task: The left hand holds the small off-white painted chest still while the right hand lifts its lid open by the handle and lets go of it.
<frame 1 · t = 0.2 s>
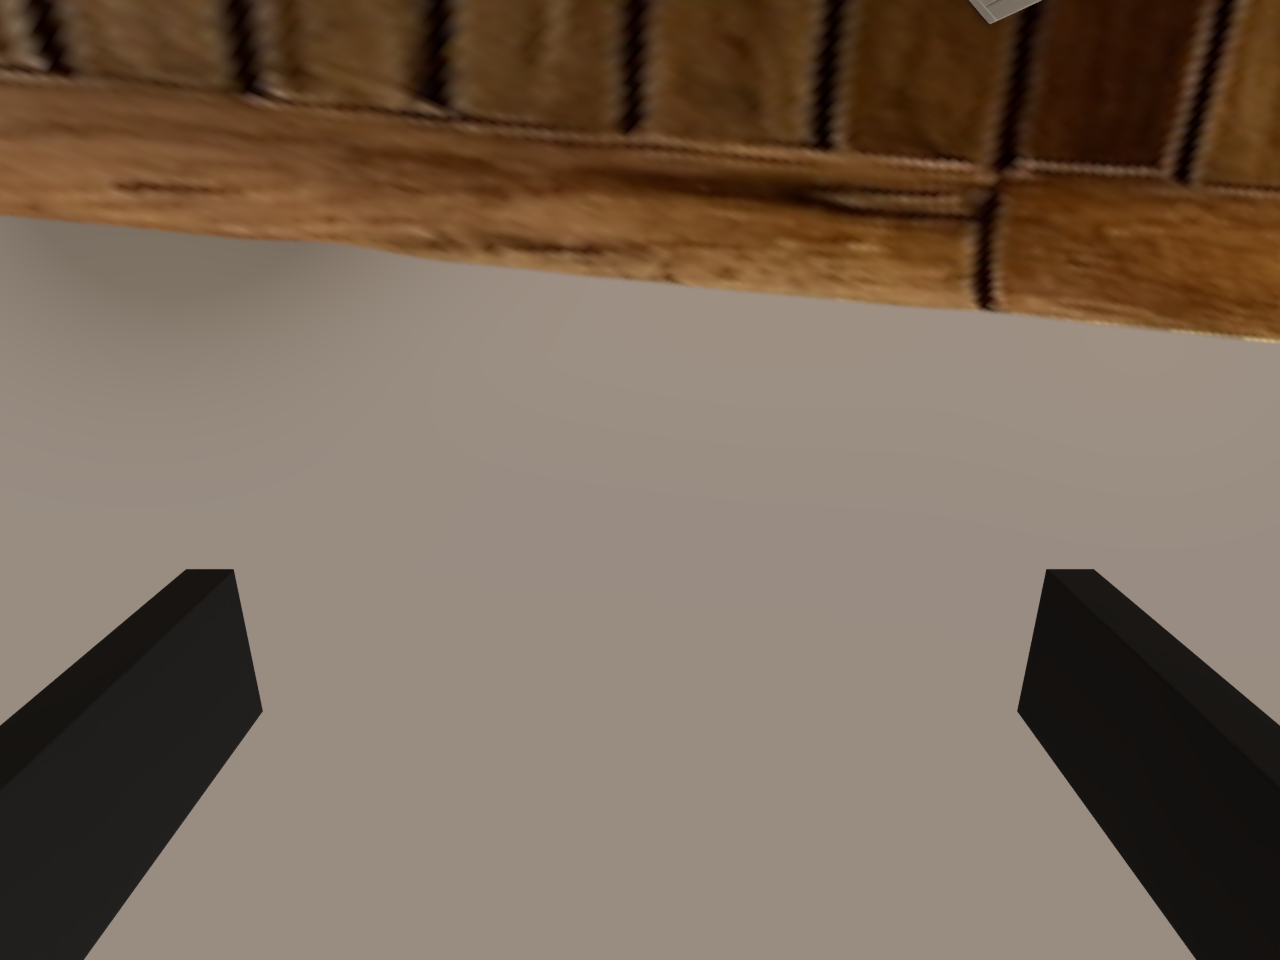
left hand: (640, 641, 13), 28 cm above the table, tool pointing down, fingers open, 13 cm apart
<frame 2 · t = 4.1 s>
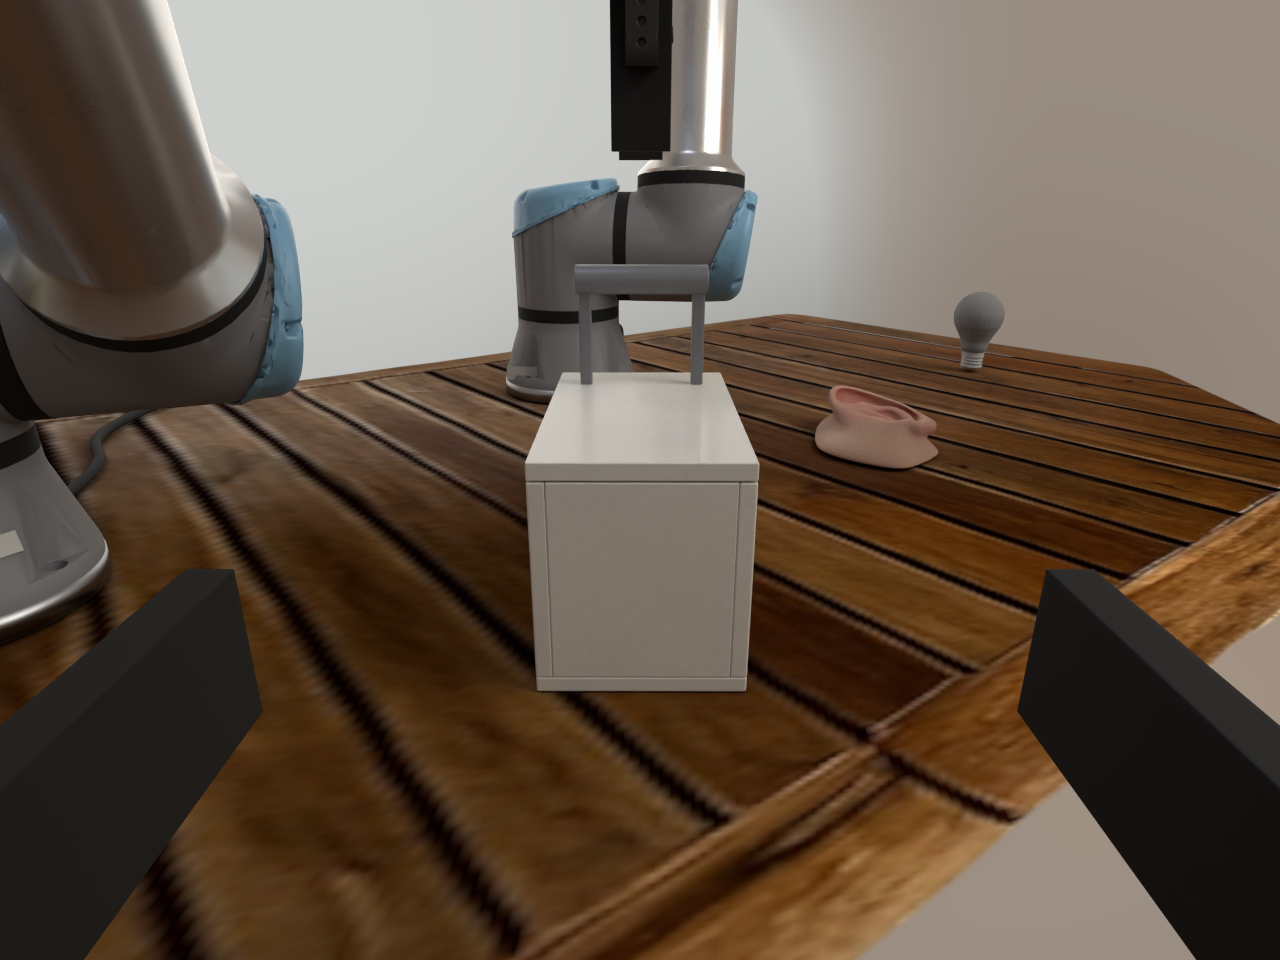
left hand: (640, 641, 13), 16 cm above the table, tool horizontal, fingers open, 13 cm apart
anatomical model: (873, 445, 73), on the table
chest: (641, 604, 45), on the table
light bulb: (970, 370, 103), on the table
lid: (641, 352, 40), point 15 cm above the table, hinge at 0.0°
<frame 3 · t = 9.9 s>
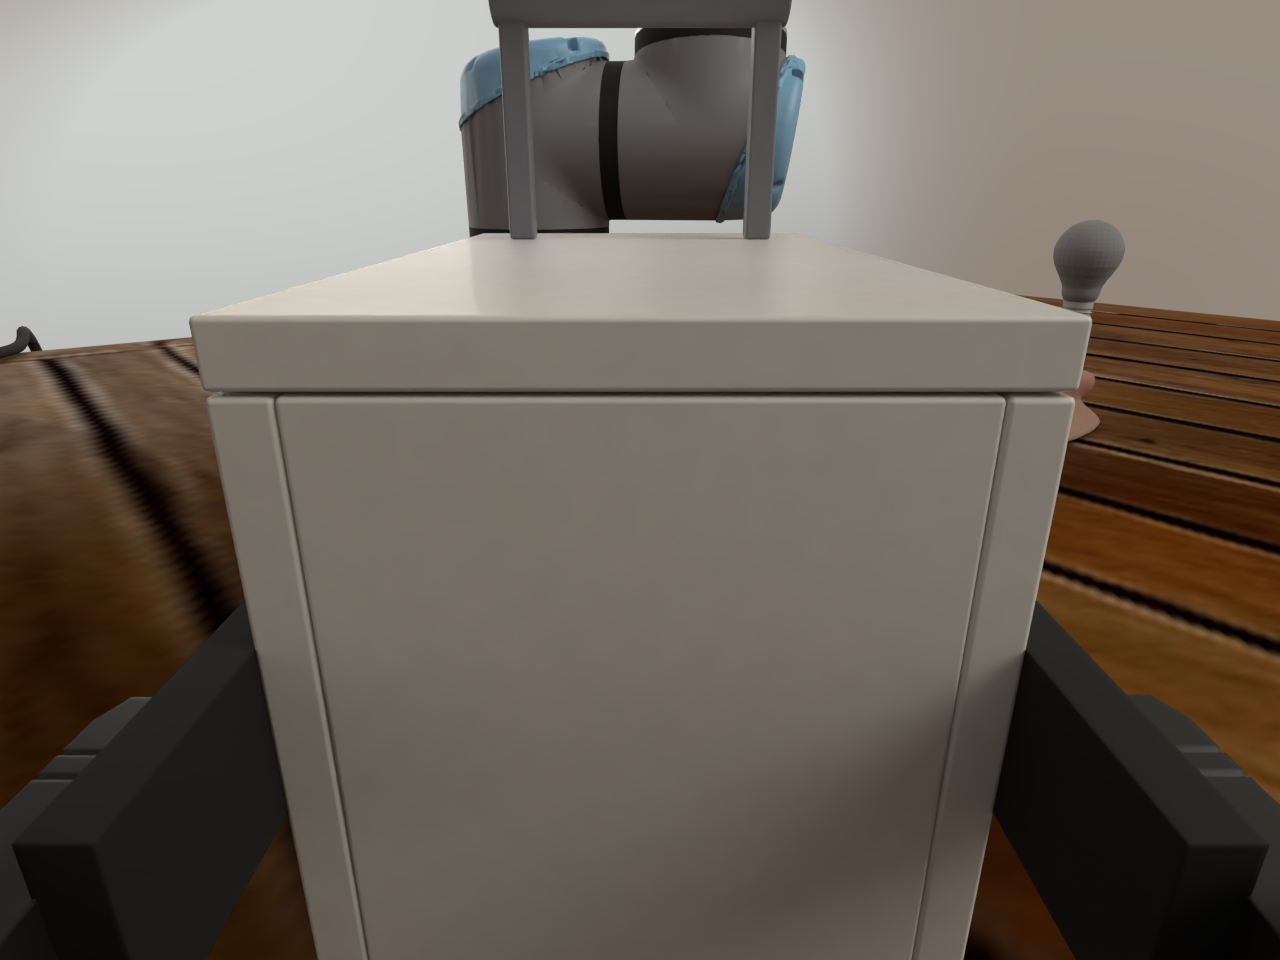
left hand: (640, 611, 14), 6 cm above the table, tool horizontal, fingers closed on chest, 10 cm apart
anatomical model: (991, 412, 48), on the table
chest: (640, 716, 21), on the table, touching left hand
light bulb: (1073, 327, 78), on the table
lid: (640, 99, 16), point 15 cm above the table, hinge at 0.0°
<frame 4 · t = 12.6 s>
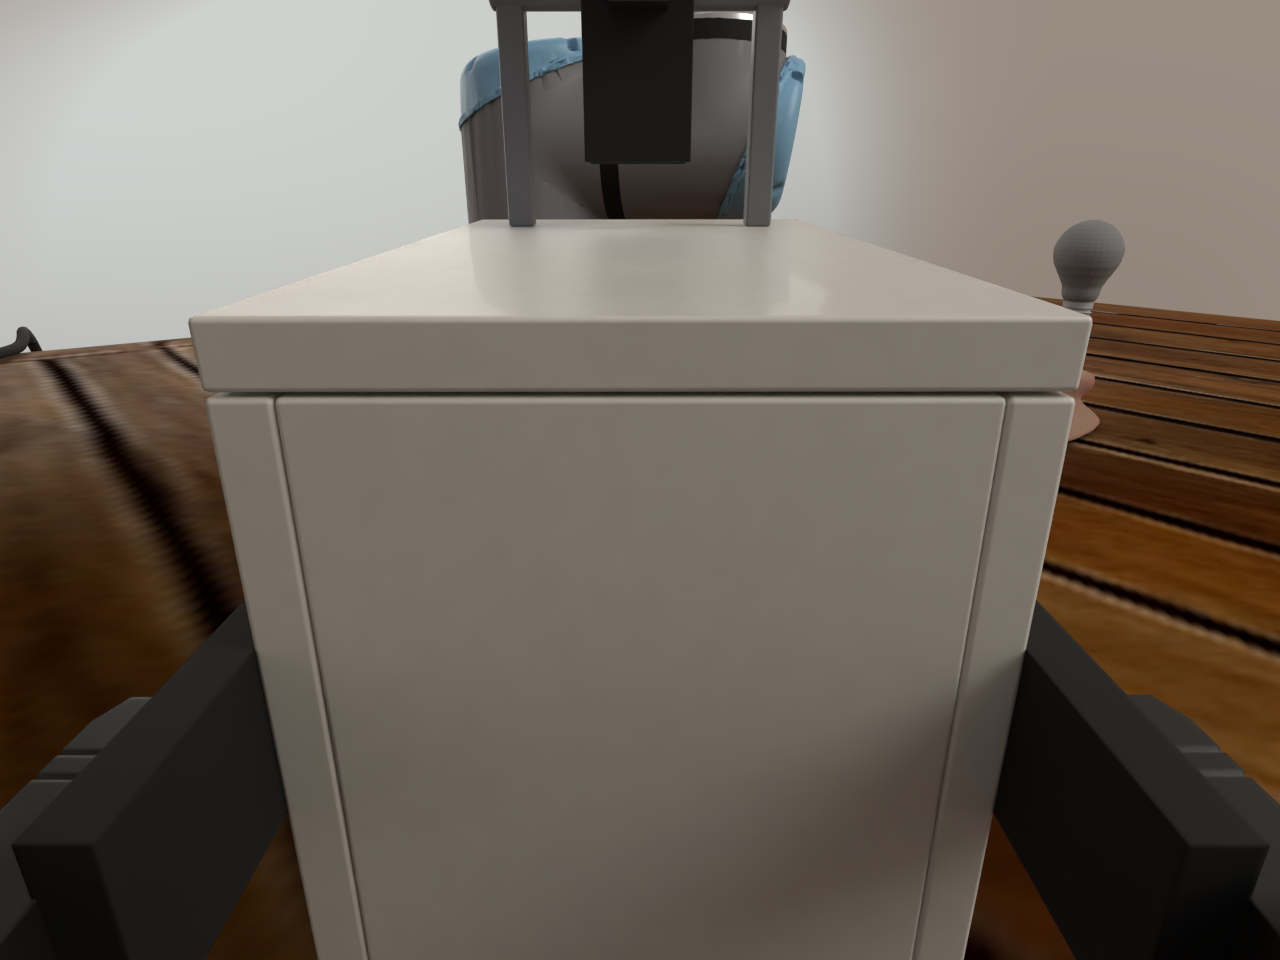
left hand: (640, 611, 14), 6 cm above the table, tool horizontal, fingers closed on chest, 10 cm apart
anatomical model: (991, 412, 48), on the table
chest: (640, 716, 21), on the table, touching left hand
light bulb: (1073, 327, 78), on the table
lid: (639, 86, 16), point 15 cm above the table, hinge at 1.4°, touching right hand
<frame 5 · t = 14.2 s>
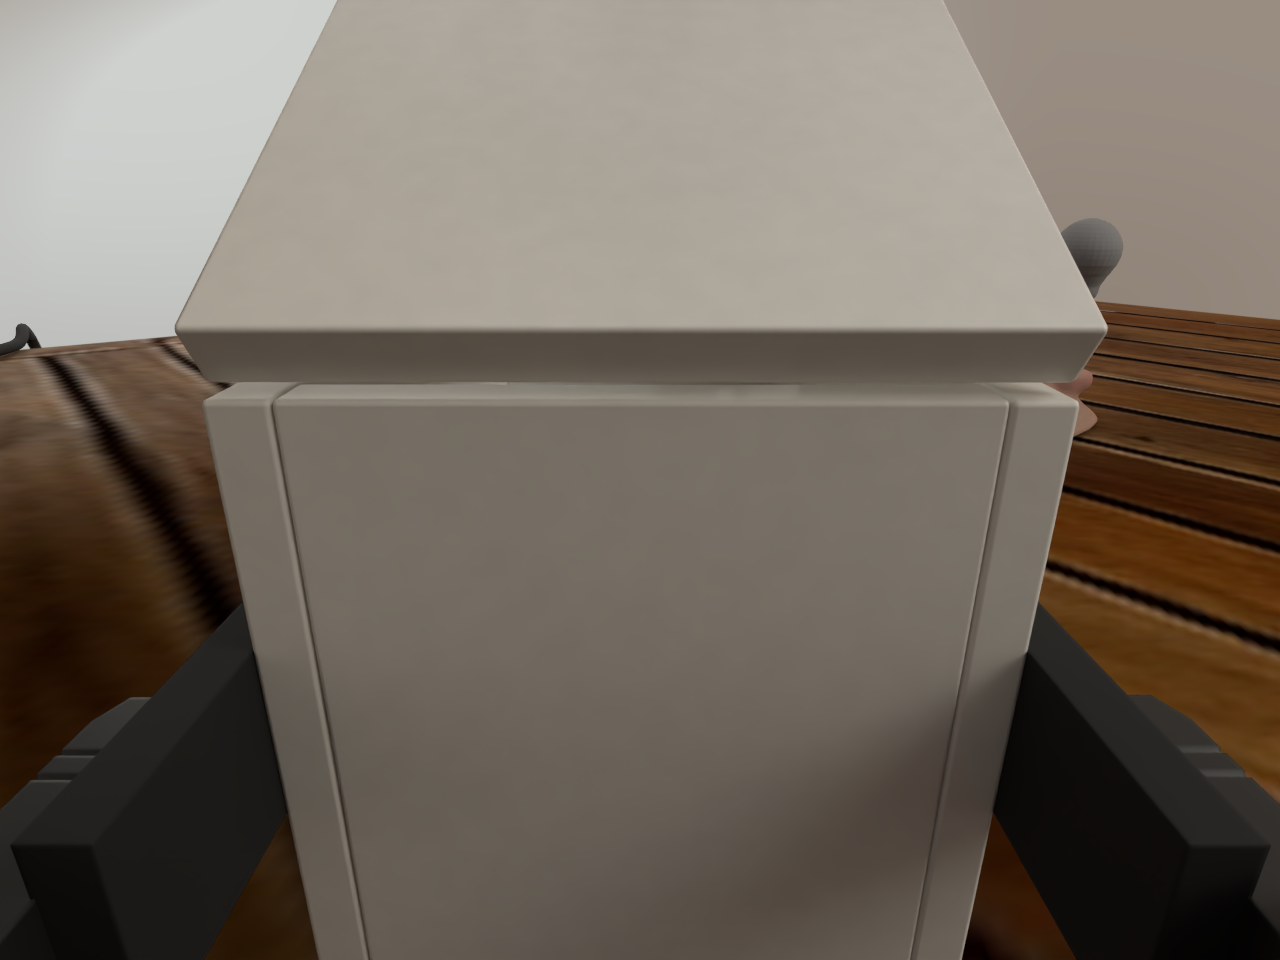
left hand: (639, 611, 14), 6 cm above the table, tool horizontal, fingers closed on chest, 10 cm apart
anatomical model: (989, 410, 48), on the table
chest: (639, 711, 21), on the table, touching left hand
light bulb: (1072, 325, 78), on the table
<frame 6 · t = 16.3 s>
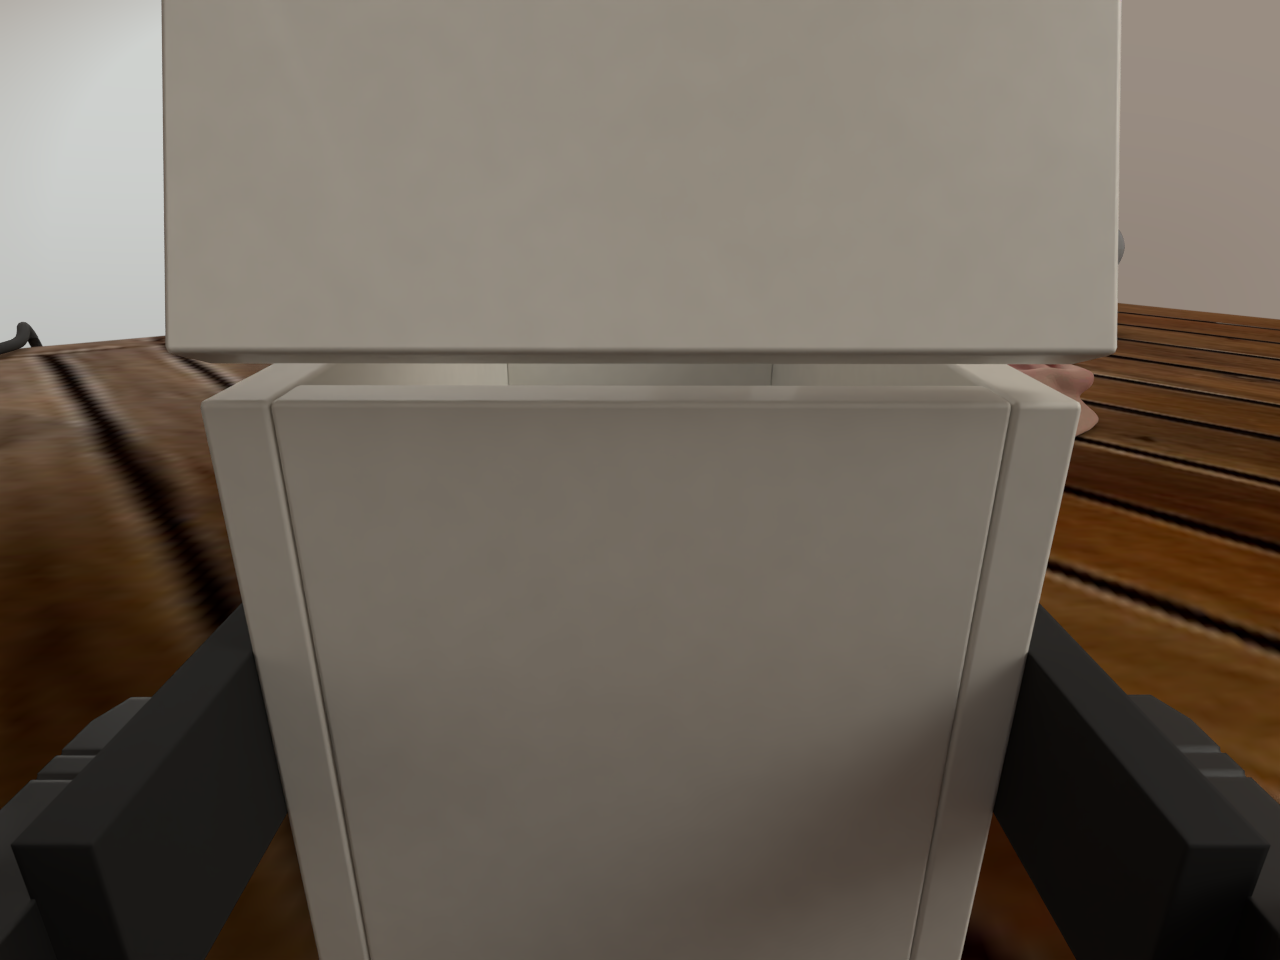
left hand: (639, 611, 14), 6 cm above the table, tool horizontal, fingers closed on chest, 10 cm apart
anatomical model: (990, 410, 48), on the table
chest: (639, 709, 21), on the table, touching left hand
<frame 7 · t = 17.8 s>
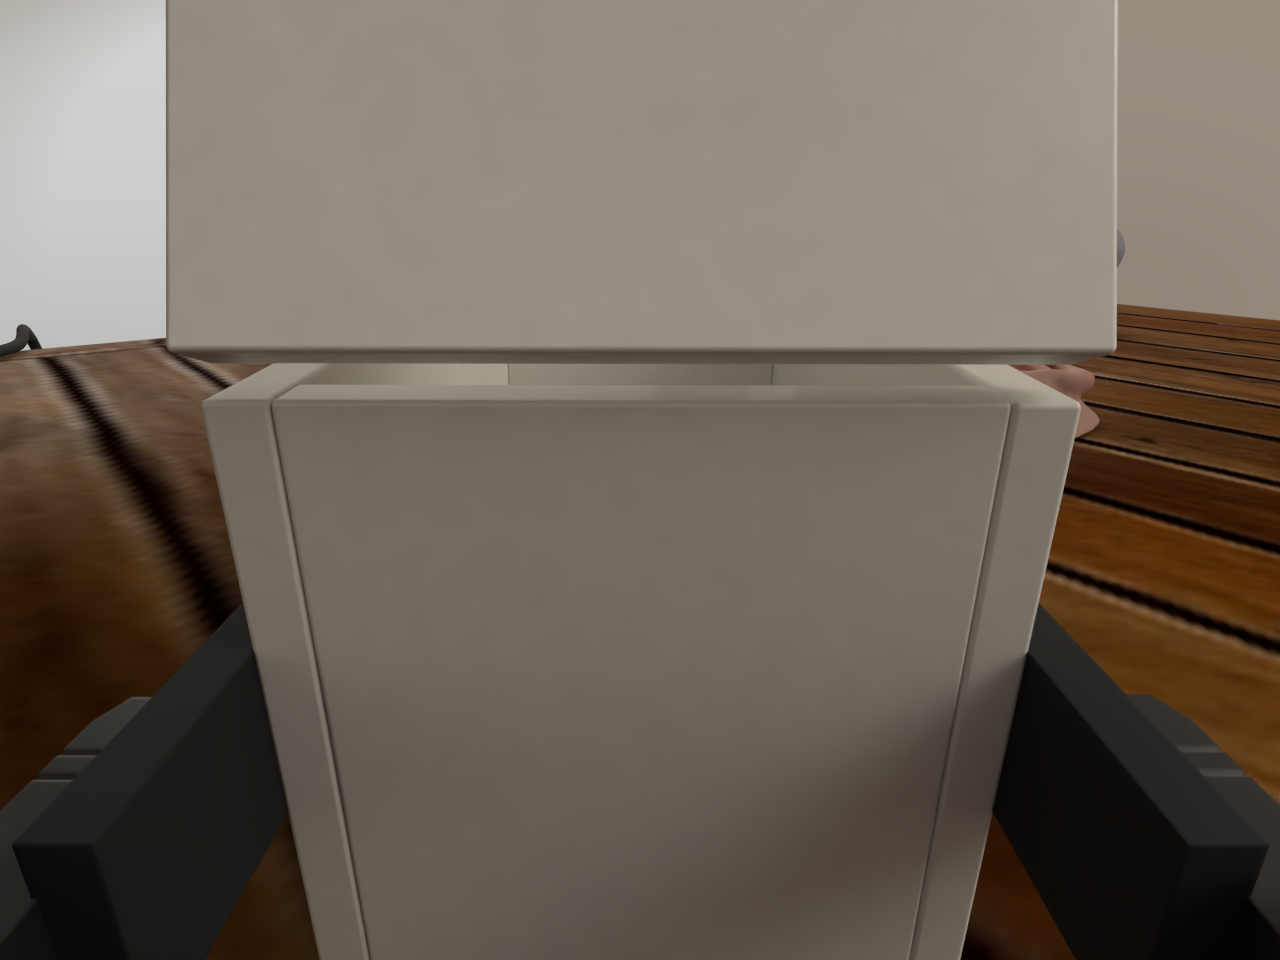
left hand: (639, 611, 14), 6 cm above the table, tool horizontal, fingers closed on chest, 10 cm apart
anatomical model: (990, 411, 48), on the table
chest: (639, 708, 21), on the table, touching left hand
when the left hand's fingers open (6 cm above the table, at t = 20.4 s): chest stays where it is, on the table.
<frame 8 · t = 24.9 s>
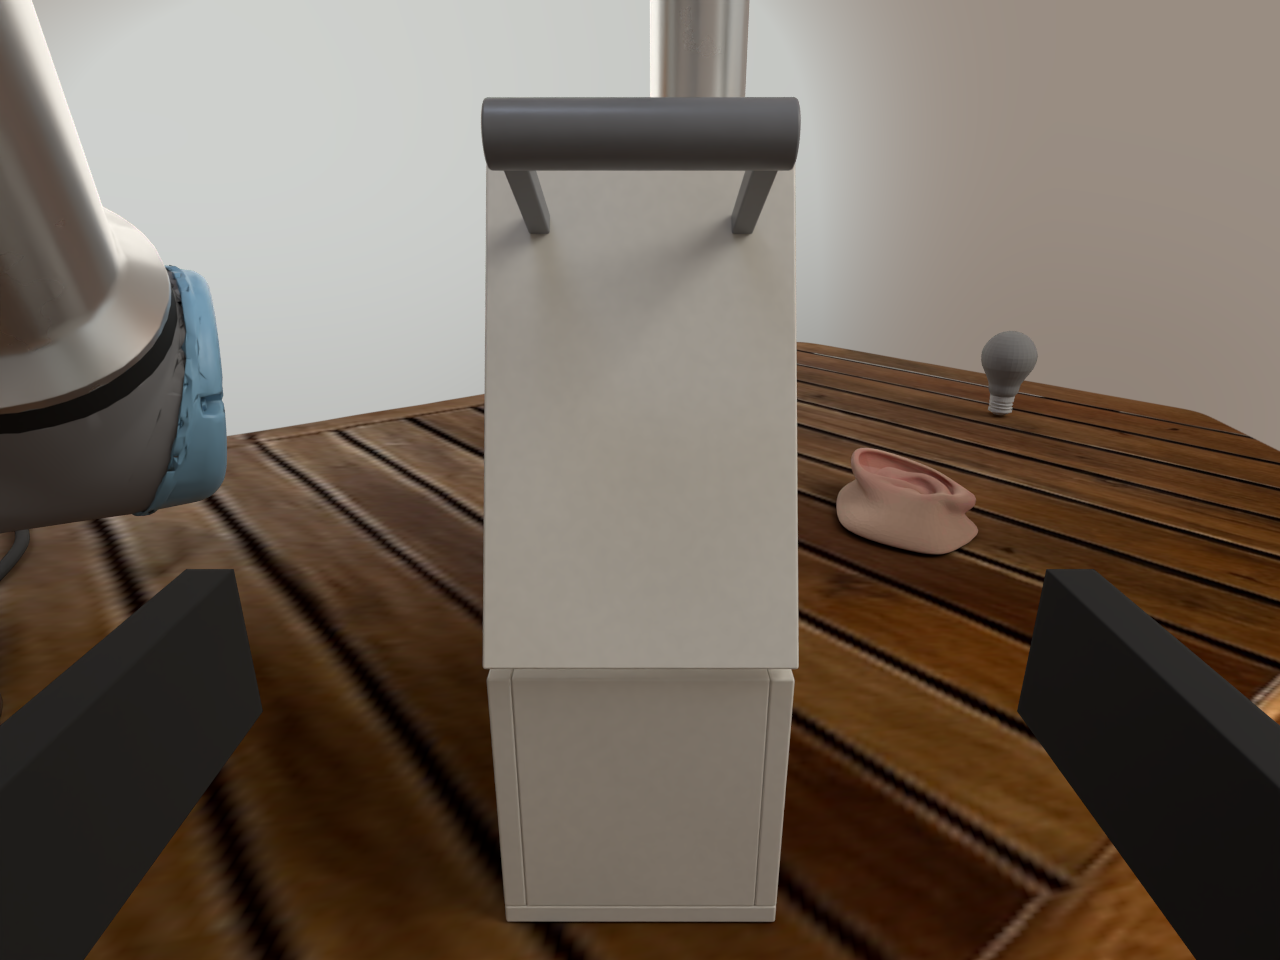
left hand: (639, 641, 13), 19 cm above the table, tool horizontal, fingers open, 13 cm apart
anatomical model: (902, 520, 65), on the table
chest: (640, 767, 37), on the table
light bulb: (999, 415, 94), on the table
lid: (640, 384, 22), point 21 cm above the table, hinge at 67.5°
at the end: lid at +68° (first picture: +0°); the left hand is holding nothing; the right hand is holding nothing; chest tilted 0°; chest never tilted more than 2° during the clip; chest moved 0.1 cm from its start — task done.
